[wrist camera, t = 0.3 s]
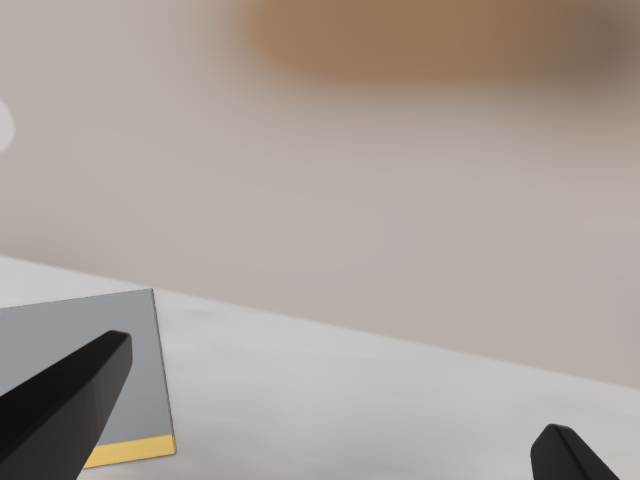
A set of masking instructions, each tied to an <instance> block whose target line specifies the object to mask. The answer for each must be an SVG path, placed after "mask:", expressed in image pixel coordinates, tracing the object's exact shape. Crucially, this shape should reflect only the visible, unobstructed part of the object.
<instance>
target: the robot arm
mask: <svg viewBox="0 0 640 480" xmlns="http://www.w3.org/2000/svg"><path fill="white" fill-rule="evenodd" d="M132 363H133V351H132V336H131V334H130V333H128V332H123V331H119V330H109V331H107V332H105V333H103V334H102V335H100V336H99V337H97V338H95V339H94V340H92V341H90V342H89V343H87V344H85V345H84V346H82V347H80V348H79V349H77V350H75V351H74V352H72V353H70V354H69V355H67V356H65V357H64V358H62V359H61V360H59V361H57V362H56V363H54V364H52V365H51V366H49V367H47V368H46V369H44V370H42V371H41V372H39V373H37V374H36V375H34V376H32V377H31V378H29V379H27V380H26V381H24V382H23V383H21V384H19V385H18V386H16V387H14V388H13V389H11V390H9V391H8V392H6V393H4V394H3V395H1V396H0V480H76V479H77V477H78V475H79V474H80V472H81V470H82V469H83V467H84V465H85V463H86V462H87V460H88V458H89V457H90V455H91V453H92V452H93V450H94V448H95V446H96V444H97V442H98V441H99V439H100V437H101V434H102V432H103V430H104V428H105V426H106V424H107V421H108V419H109V417H110V415H111V413H112V410H113V408H114V406H115V404H116V401H117V399H118V397H119V395H120V393H121V390H122V388H123V386H124V384H125V382H126V379H127V377H128V375H129V373H130V370H131V367H132ZM531 464H532V471H533V478H534V480H620V479H619V478H618V477H617V476H616V475H615V474H614V473H613V472H612V471H611V470H610V469H609V468H608V466H607V465H606V464H605V463H604V462H603V461H602V460H601V459H600V458H599V457H598V456H597V455H596V454H595V453H594V452H593V450H592V449H591V448H590V447H589V446H588V445H587V444H586V443H585V442H584V441H583V440H582V439H581V438H580V437H579V436H578V435H577V433H576V432H575V431H574V430H573V429H571V428H569V427H567V426H562V425H558V424H549V425H547V426H546V428H545V429H544V430H543V431H542V433H541V434H540V435H539V437H538V438H537V439H536V441H535V442H534V443H533V445H532V448H531Z"/></svg>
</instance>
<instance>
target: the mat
mask: <svg viewBox="0 0 640 480" xmlns="http://www.w3.org/2000/svg"><path fill="white" fill-rule="evenodd" d="M109 330H119V331H123V332H128V333H130V334H131V336H132V351H133V363H132V367H131V370H130V373H129V375H128V377H127V379H126V382H125V384H124V386H123V388H122V390H121V393H120V395H119V397H118V399H117V401H116V404H115V406H114V408H113V410H112V413H111V415H110V417H109V419H108V421H107V424H106V426H105V428H104V430H103V432H102V434H101V437H100V439H99V441H98V442H97V444H96V446H95V448H94V450H93V452H92V453H91V455H90V457H89V458H88V460H87V462H86V463H85V465H84V467H83V468H87V467H94V466H100V465H106V464H112V463H118V462H125V461H131V460H137V459H143V458H150V457H156V456H162V455H168V454H174V453H175V451H176V445H175V439H174V432H173V425H172V418H171V411H170V405H169V398H168V391H167V384H166V377H165V371H164V364H163V357H162V350H161V343H160V337H159V330H158V323H157V316H156V309H155V303H154V296H153V289H145V290H137V291H130V292H122V293H115V294H107V295H100V296H92V297H85V298H77V299H70V300H62V301H55V302H48V303H40V304H33V305H25V306H18V307H10V308H3V309H0V396H1V395H3V394H4V393H6V392H8V391H9V390H11V389H13V388H14V387H16V386H18V385H19V384H21V383H23V382H24V381H26V380H27V379H29V378H31V377H32V376H34V375H36V374H37V373H39V372H41V371H42V370H44V369H46V368H47V367H49V366H51V365H52V364H54V363H56V362H57V361H59V360H61V359H62V358H64V357H65V356H67V355H69V354H70V353H72V352H74V351H75V350H77V349H79V348H80V347H82V346H84V345H85V344H87V343H89V342H90V341H92V340H94V339H95V338H97V337H99V336H100V335H102V334H103V333H105V332H107V331H109Z"/></svg>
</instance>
